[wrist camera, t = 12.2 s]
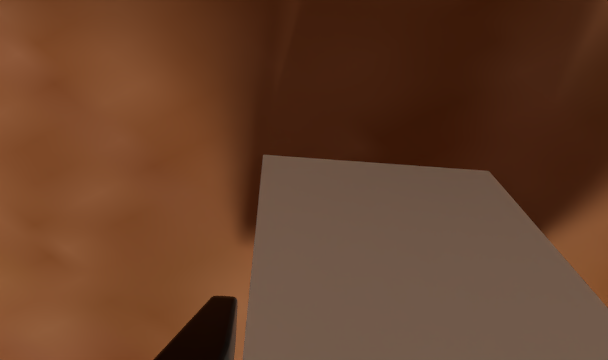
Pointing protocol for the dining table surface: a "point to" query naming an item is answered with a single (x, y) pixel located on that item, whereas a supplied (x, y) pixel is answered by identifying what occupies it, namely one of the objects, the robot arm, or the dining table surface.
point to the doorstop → (408, 269)
